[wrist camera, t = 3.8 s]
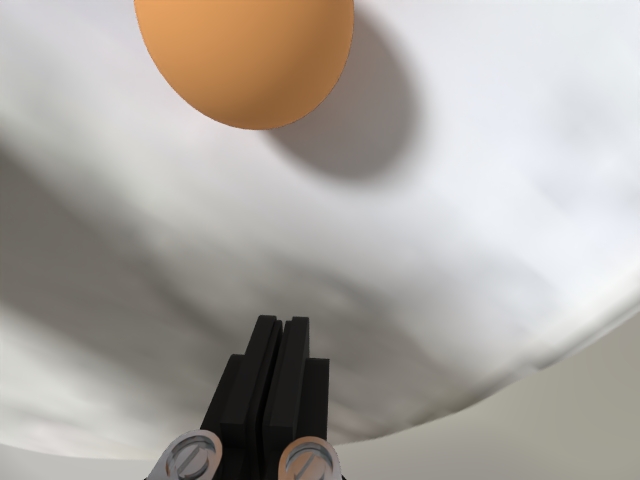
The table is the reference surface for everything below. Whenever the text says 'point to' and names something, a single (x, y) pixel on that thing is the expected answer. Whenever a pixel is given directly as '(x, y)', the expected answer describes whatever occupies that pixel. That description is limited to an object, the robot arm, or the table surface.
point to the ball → (249, 55)
